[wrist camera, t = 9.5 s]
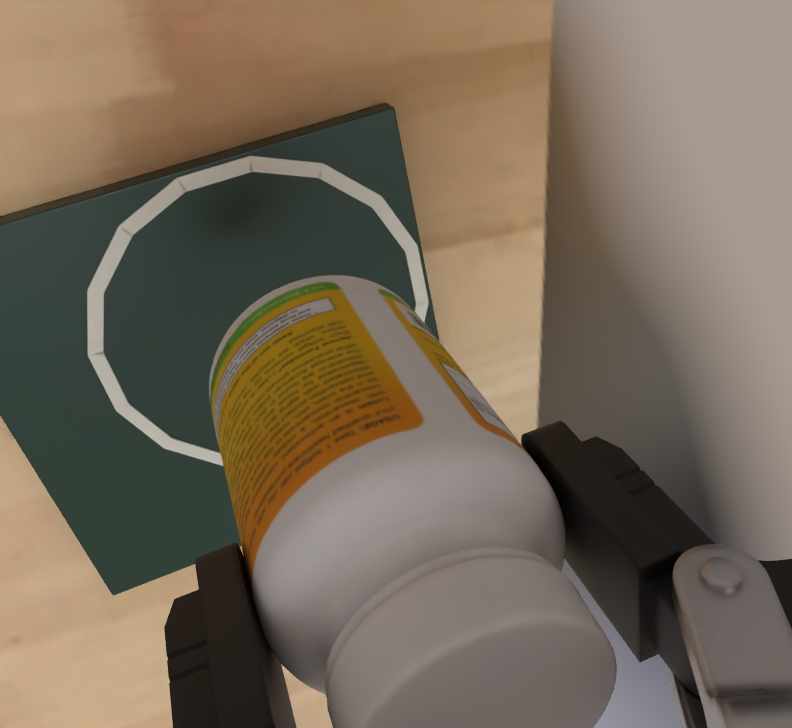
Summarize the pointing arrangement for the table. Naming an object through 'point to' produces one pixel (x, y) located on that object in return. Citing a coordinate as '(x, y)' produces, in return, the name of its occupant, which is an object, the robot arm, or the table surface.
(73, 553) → the table surface
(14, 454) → the table surface
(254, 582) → the supplement bottle
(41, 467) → the chalkboard
